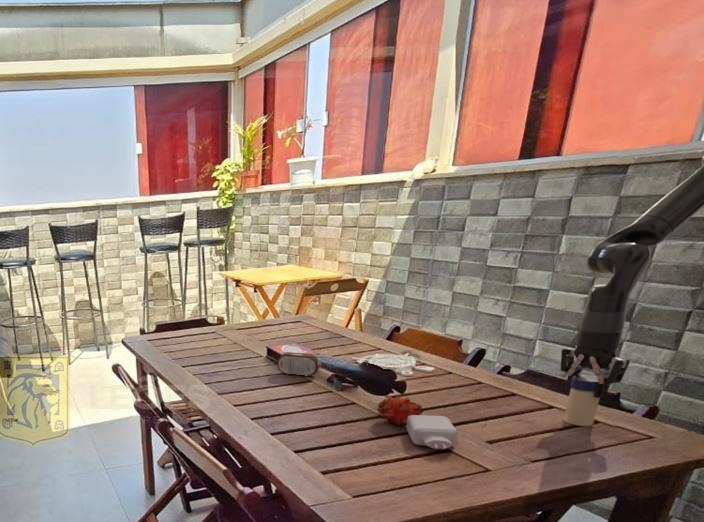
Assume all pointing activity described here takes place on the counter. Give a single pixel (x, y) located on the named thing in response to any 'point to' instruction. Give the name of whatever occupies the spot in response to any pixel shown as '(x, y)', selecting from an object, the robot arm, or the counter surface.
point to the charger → (431, 431)
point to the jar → (581, 407)
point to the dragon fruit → (398, 409)
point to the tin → (298, 363)
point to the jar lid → (584, 382)
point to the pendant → (395, 363)
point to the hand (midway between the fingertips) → (584, 393)
